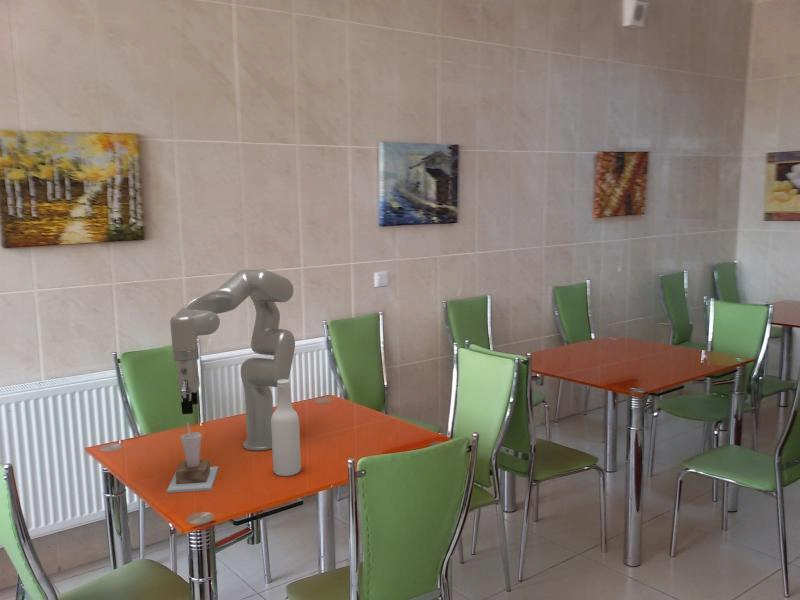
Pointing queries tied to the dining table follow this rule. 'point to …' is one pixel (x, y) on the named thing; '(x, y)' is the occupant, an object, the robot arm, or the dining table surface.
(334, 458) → the dining table surface
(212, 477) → the base
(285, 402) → the alcohol
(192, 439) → the smoothie
